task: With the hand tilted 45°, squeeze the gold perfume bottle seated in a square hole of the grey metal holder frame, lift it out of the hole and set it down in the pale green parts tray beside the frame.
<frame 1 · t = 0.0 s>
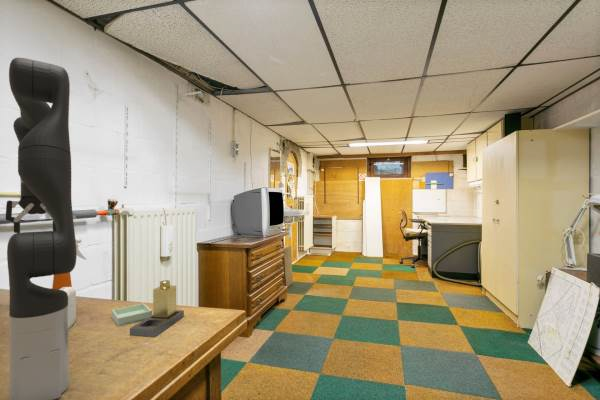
hand: (36, 233, 97), 29 cm above the table, tool pointing down, fingers open, 8 cm apart
parts tray: (131, 317, 104), on the table
grey metal holder frame: (158, 325, 98), on the table
photo printer: (63, 328, 96), on the table
spray bottle: (68, 317, 105), on the table
gold perfume bottle: (165, 321, 101), resting in grey metal holder frame
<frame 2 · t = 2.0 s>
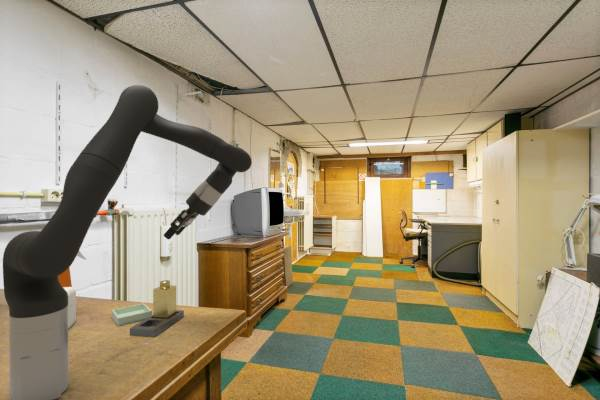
hand: (171, 235, 99), 28 cm above the table, tool tilted 40°, fingers open, 8 cm apart
nothing on the table moved.
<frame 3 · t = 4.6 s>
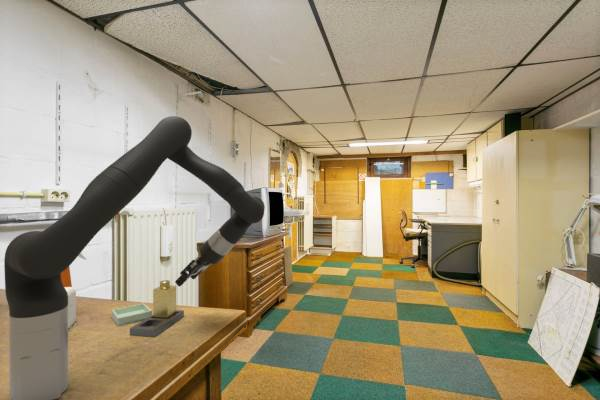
hand: (184, 280, 100), 14 cm above the table, tool tilted 45°, fingers open, 8 cm apart
nothing on the table moved.
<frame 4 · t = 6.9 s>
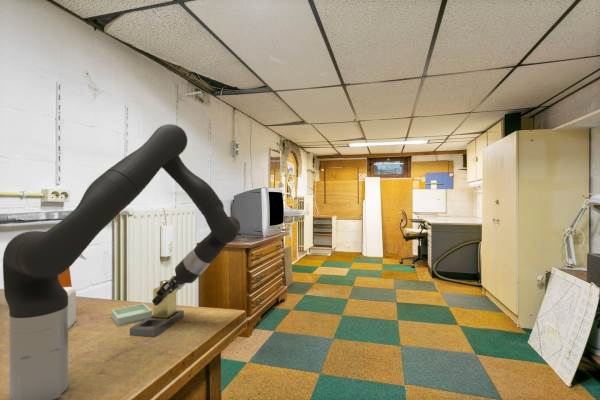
hand: (159, 300, 101), 7 cm above the table, tool tilted 45°, fingers closed on gold perfume bottle, 5 cm apart
gold perfume bottle: (165, 320, 101), resting in grey metal holder frame, touching gripper
everything else where it was.
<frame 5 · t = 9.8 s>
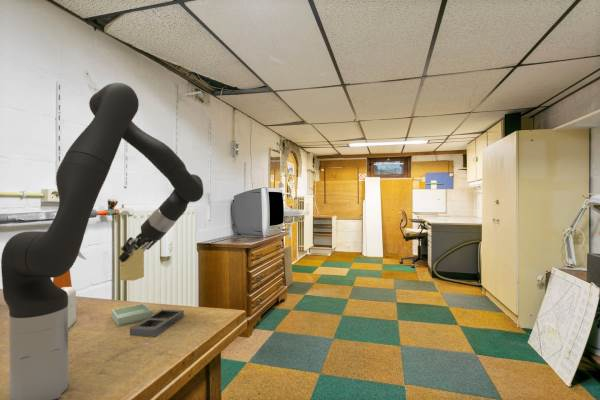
hand: (127, 258, 104), 20 cm above the table, tool tilted 45°, fingers closed on gold perfume bottle, 5 cm apart
gold perfume bottle: (132, 278, 104), point 13 cm above the table, touching gripper
everything else where it was.
when the fingers open (9 cm above the table, at t = 12.4 s): gold perfume bottle drops 1 cm, resting on parts tray.
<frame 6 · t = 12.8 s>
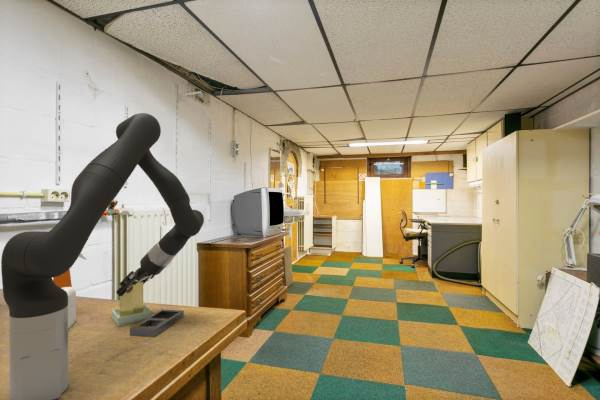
hand: (128, 290, 104), 9 cm above the table, tool tilted 45°, fingers open, 8 cm apart
gold perfume bottle: (131, 316, 104), point 1 cm above the table, touching parts tray
everything else where it was.
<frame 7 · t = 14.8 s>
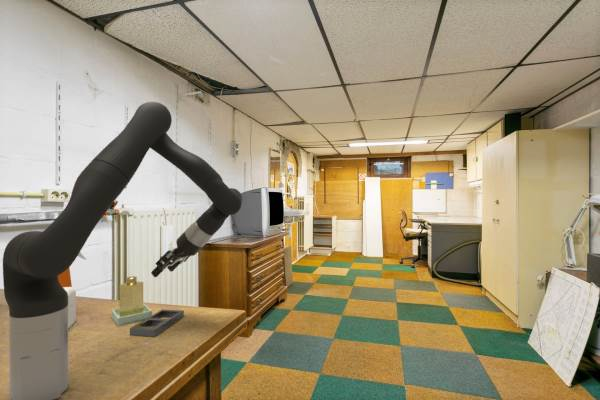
hand: (161, 272, 100), 16 cm above the table, tool tilted 45°, fingers open, 8 cm apart
nothing on the table moved.
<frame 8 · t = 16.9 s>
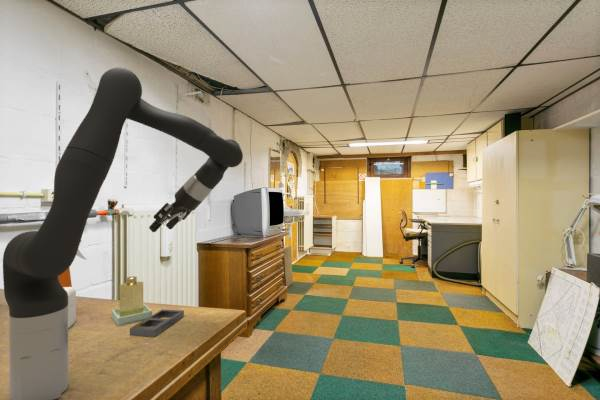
hand: (160, 228, 97), 31 cm above the table, tool tilted 45°, fingers open, 8 cm apart
nothing on the table moved.
at the end: gold perfume bottle inside the target area on the parts tray (0.1 cm from its centre), point 0.6 cm above the parts tray's base; gold perfume bottle tilted 0°; the gripper is holding nothing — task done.
